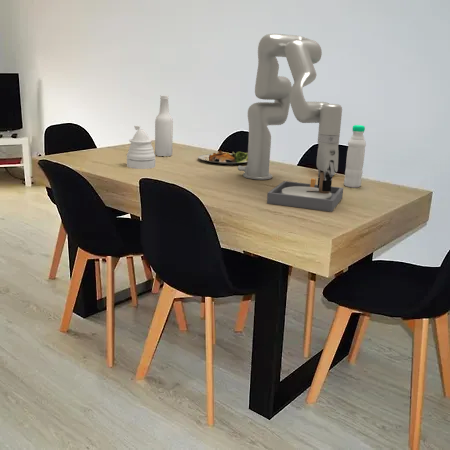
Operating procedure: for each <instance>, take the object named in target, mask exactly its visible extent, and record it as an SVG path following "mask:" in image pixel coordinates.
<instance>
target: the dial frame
mask: <svg viewBox="0 0 450 450" xmlns="http://www.w3.org/2000/svg"><path fill="white" fill-rule="evenodd" d="M316 181H317V179H316V178H310V183H306V182H297V181H288V180H287V181H286V180H283V181H282V182H280V183H279V184H278V185H277V186H275V187H274V188H272V189H271V190H269V191H267V197H266V204H269V205H277V206H285V207H294V208H302V209H306V210H307V209H308V210H309V209H310V210H315V211H322V212H323V211H324V212H333V211H335V208H337V206H338V204H339V203H340V202H341V200H342V199H343V194H344V187H341V186H333V185H331V193H332V196H331V199H330V200H328V199H320V198H312V197H304V196H296V195H288V194H282V189H283V188H286V187H293V186H305V187H315V188H317V186H318V184H316Z"/></svg>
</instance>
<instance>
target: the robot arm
mask: <svg viewBox="0 0 450 450" xmlns="http://www.w3.org/2000/svg"><path fill="white" fill-rule="evenodd" d="M322 55H323V53H322V47H321V45H320V44H319V42H317V41H315V40H314V39H310V38H308V37H304V36H301V35H294V34H284V33H268V34H265V35H264V36H262V37H261V39H260V40H259V42H258V45H257V58H258V59H257V61H258V62H257V64H258V65H257V72H256V78H255V86H254V94H255V97H256V98H257V99H259V100H267V102H266V101H265V102H264V101H263V102H261V101H258V102H254V103H252V104H250V106H249V107H248V109H247V121H248V144H247V153H248V154H247V155H248V160H247V162H246V165H244V166H243V165H238V166H237V170H238V171H241V172H243V173H242V176H243V178H246V179H249V180H250V179H251V180H260V181H261V180H262V181H263V180H271V179H272V178H273V174H272V173H270V163H271V162H270V161H271V148H272V147H271V144H272V135H271V132H270V129H269V127H268V126H281V125H284V124H285V123H286V122H287V120H288V116H289V111H290V107H291V109H292V110H291V111H292V113H293V115H294V118H295V119H296V120H297V121H298V122H300V124H301V123H302V124H318V134H317V144H318V147H317V154H316V155H317V156H316V168H317V170H318V171H317V177H318V178H317V185H318V186H317V188H319V182H320V173H321V172H324V180H323V184H322V191H331V186H332V182H333V177H334V176H335V174H334V172H335V173H337V172H338V170H339V145H340V136H341V125H342V116H343V115H342V113H343V107H342V105H340V104H338V103H329V102H326V101H306V99H305V96H304V92H303V88H304V87H306V86H308V85H310V84H312V83H313V82H314V81H315V80H316V78H317V72H316V69H315V66H314V65H315V64H317V63H319V61H321V59H322ZM277 57H278V58H280V57H281V58H286V60H287V61H286V62H287V64H288V68H289V70H290V73H291V75H292V78H293V83H292V82H291V80H290V79H289V78H288V77H286V76H283V75H282V76H280V75H279V71H280V70H279V68H280V65H279V61H278V59H277ZM268 100H269V102H268ZM270 100H273V101H274V102H270ZM327 170H329V171H330V172H327ZM318 172H319V173H318ZM327 174H328V175H327Z"/></svg>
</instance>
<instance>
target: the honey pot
mask: <svg viewBox="0 0 450 450" xmlns="http://www.w3.org/2000/svg"><path fill="white" fill-rule="evenodd" d="M134 130H136V132H135V134H134V135H133V137H132V138H130V139H129V140H128V141H129V143H130V145H129V147H128V151H127V154H126V166H127V168H130V169H137V170H139V169H140V170H142V169H143V170H145V169H147V170H148V169H152V168H156V155H155V149H154V147H153V144H152V141H153V140H152V139H150V137H149V135H148V133H147V132H146V131H145V130H144V129H141V125H134Z"/></svg>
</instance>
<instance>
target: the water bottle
mask: <svg viewBox="0 0 450 450" xmlns="http://www.w3.org/2000/svg"><path fill="white" fill-rule="evenodd" d="M365 129H366V126H365V125H360V124H354V125H353V126H352V135H351V136H350V138H349V140H348V142H347V146H348V147H347V151H346V161H345V162H346V163H345V171H344V179H343V185H344V186H345V187H348V188H353V189H354V188H356V189H357V188H361V186H362V177H363V167H364V161H365V154H366V153H365V151H366V146H367V143H366V139H365V136H364V132H365Z"/></svg>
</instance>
